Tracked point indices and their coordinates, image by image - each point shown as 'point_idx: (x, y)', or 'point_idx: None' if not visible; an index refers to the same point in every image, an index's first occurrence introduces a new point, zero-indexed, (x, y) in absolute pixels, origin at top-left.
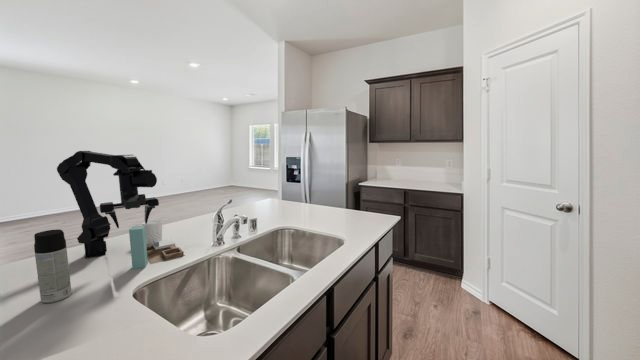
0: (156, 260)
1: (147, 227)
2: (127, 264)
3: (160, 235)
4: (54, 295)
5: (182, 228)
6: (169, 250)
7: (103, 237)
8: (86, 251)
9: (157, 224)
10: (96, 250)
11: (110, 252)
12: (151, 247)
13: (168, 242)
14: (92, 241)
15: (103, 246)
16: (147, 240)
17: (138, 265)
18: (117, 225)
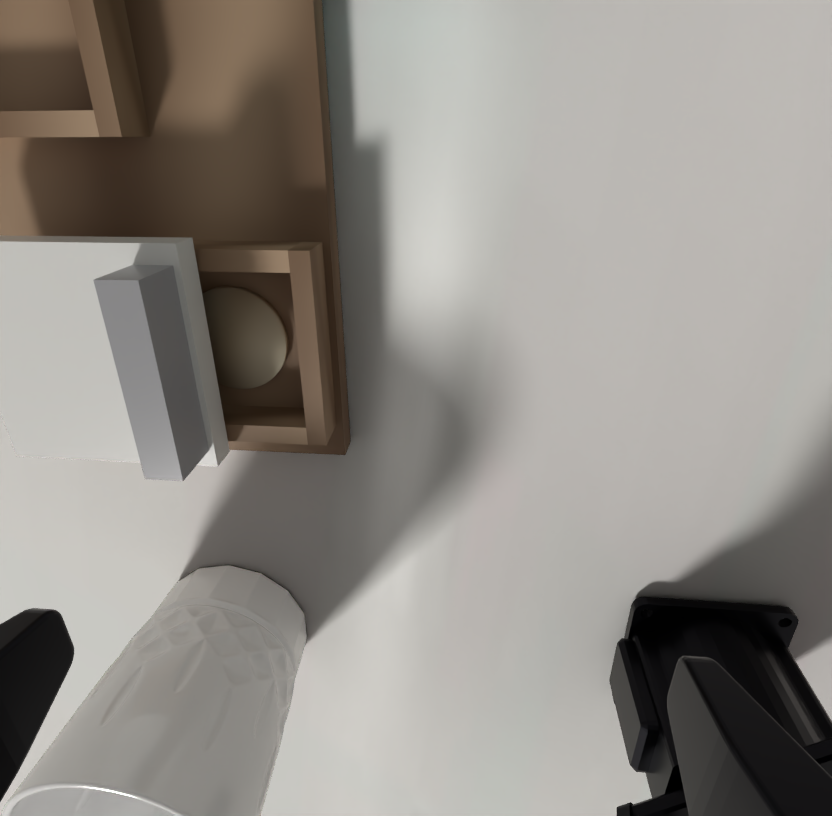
0: None
1: (197, 762)
2: (534, 159)
3: (137, 636)
4: None
5: (23, 776)
6: (30, 113)
7: (670, 801)
8: (799, 680)
9: (60, 762)
10: (722, 653)
11: (586, 623)
12: (246, 417)
13: (27, 341)
14: (810, 753)
15: (658, 686)
16: (273, 629)
17: None
18: (755, 727)
